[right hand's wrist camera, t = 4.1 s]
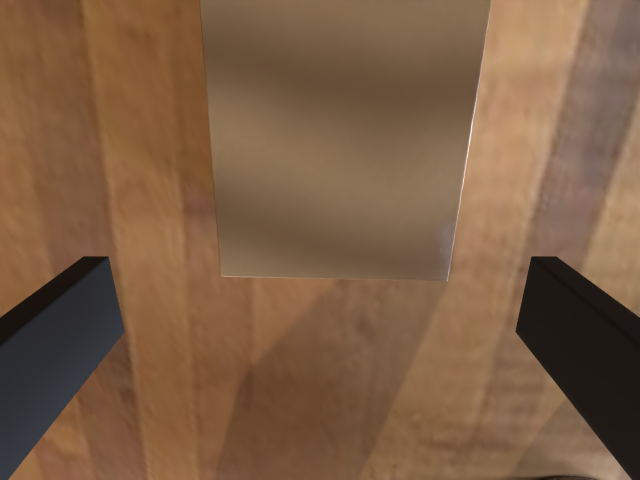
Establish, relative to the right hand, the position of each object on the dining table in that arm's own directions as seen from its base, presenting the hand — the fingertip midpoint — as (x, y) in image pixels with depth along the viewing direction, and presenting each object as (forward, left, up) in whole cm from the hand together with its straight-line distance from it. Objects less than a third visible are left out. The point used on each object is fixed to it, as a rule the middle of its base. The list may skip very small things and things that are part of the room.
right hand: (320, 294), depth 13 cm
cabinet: (+1, -6, -16) cm, 17 cm away
